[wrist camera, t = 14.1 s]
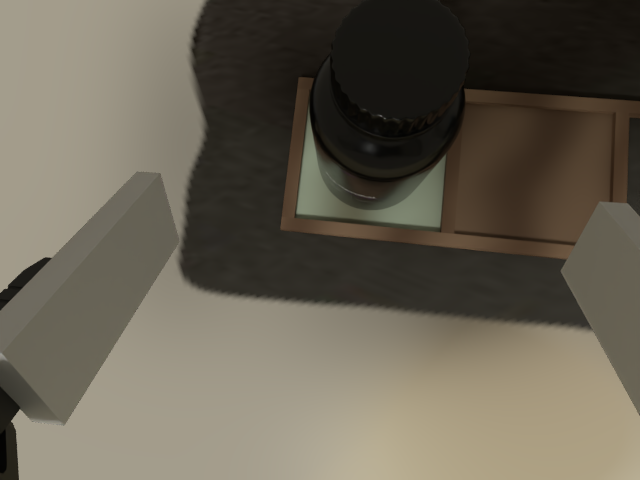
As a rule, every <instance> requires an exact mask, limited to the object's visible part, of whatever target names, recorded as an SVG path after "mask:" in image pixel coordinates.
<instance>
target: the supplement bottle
mask: <svg viewBox="0 0 640 480" xmlns="http://www.w3.org/2000/svg"><path fill="white" fill-rule="evenodd" d="M468 44H469V40H468V39H467V37H466V36H465V29H464V27H463V26H461V25H460V23H459V19H458V17H457V16H455V15H453V14H452V12H451V10H450V8H448V7H446V6H444V5H442V3H441V2H440V1H439V0H363V1H362V2H361V3H360V4H359V5H358V6H357V7H354V8H352V9H351V11H350V13H349V15H347V16H346V17H344V18H343V20H342V24H341V25H340V26H339V27H338V28H337V30H336V36H335V38H334V40H333V41H332V45H331V47H332V52H331V53H330V54H329V55H328V56H327V57H326V59H325V60H324V61H323V63H322V64H321V66H320V67H319V69H318V71H317V73H316V75H315V78H314V80H313V83H312V87H311V92H310V99H309V114H310V122H311V128H312V133H313V139H314V145H315V150H316V156H317V162H318V166H319V170H320V174H321V177H322V179H323V181H324V183H325V185H326V186H327V188H328V189H329V190H330V192H331V193H332V194H333V195H334V196H335V197H336V198H338V199H339V200H340V201H342V202H343V203H345V204H347V205H349V206H351V207H354V208H357V209H362V210H382V209H386V208H389V207H392V206H394V205H396V204H398V203H400V202H402V201H403V200H404V199H406V198H407V197H408V196H409V195H410V194H411V193H412V192H413V191H414V190H415V189H416V188H417V187H418V186H419V185H420V184H421V182H422V181H423V180H424V179H425V178H426V177H427V175H428V174H429V173H430V172H431V171H432V170H433V169H434V167H435V166H436V165H437V164H438V163H439V162H440V160H441V159H442V158H443V157H444V156H445V155H446V153H447V152H448V151H449V149H450V148H451V147H452V145H453V143H454V142H455V140H456V138H457V136H458V134H459V132H460V130H461V127H462V124H463V120H464V115H465V105H466V100H465V90H464V85H463V84H464V82H465V77H466V76H465V75H466V73H467V71H468V70H469V63H468V60H469V57H470V51H469V49H468Z"/></svg>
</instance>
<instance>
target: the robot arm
mask: <svg viewBox="0 0 640 480" xmlns="http://www.w3.org/2000/svg"><path fill="white" fill-rule="evenodd" d="M178 243H179V238H178V234H177V231H176V227H175V223H174V220H173V216H172V213H171V209H170V206H169V202H168V199H167V195H166V192H165V188H164V185H163V181H162V178H161V174H160V173H149V172H136V173H135V174H134V175H133V176H132V177H131V178H130V179H129V180H128V181H127V182H126V184H124V185H123V186H122V187H121V188H120V189H119V190H118V191H117V193H116V194H115V195H114V196H113V197H112V198H111V199H110V200H109V201H108V202H107V203H106V204H105V205H104V206H103V207H102V208H101V209H100V210H99V211H98V212H97V213H96V214H95V215H94V216H93V217H92V218H91V219H90V220H89V221H88V222H87V223H86V224H85V225H84V226H83V227H82V228H81V229H80V230H79V231H78V232H77V233H76V234H75V235H74V236H73V237H72V238H71V239H70V240H69V241H68V243H66V244H65V245H64V246H63V247H62V248H61V249H60V250H59V252H58V253H57V254H56V255H55V256H54V257H53V258H43V259H42V260H40V261H38V262H37V263H35V264H33V265H32V266H30V267H28V268H27V269H25V270H24V271H23V272H22V273H21V274H20V275H18V276H17V278H15V279H14V280H13V281H12V282H11V283H10V284H9V285H8V289H4V290H3V291H2V292H1V293H0V480H19V475H18V458H17V442H16V430H15V428H14V425H13V423H12V422H11V420H12V419H13V417H14V416H15V415H16V413H17V412H18V411H19V409H21V410H22V411H23V412H24V413H25V414H26V416H28V418H29V419H30V420H31V421H32V422H38V423H47V424H56V425H65V424H66V422H67V420H68V419H69V417H70V416H71V414H72V412H73V411H74V409H75V408H76V406H77V404H78V403H79V401H80V400H81V398H82V396H83V395H84V393H85V392H86V390H87V388H88V387H89V385H90V384H91V382H92V380H93V379H94V377H95V376H96V374H97V372H98V371H99V369H100V368H101V366H102V364H103V363H104V361H105V360H106V358H107V357H108V355H109V353H110V352H111V350H112V348H113V347H114V345H115V344H116V342H117V340H118V339H119V337H120V336H121V334H122V333H123V331H124V329H125V328H126V326H127V325H128V323H129V321H130V320H131V318H132V317H133V315H134V313H135V312H136V310H137V309H138V307H139V305H140V304H141V302H142V300H143V299H144V297H145V296H146V294H147V292H148V291H149V289H150V288H151V286H152V285H153V283H154V281H155V280H156V278H157V276H158V275H159V273H160V272H161V270H162V269H163V267H164V265H165V264H166V262H167V261H168V259H169V257H170V256H171V254H172V253H173V251H174V249H175V248H176V246H177V245H178ZM561 273H562V275H563V277H564V278H565V280H566V282H567V284H568V286H569V287H570V289H571V291H572V293H573V295H574V297H575V298H576V300H577V302H578V304H579V306H580V308H581V309H582V311H583V313H584V315H585V317H586V318H587V320H588V322H589V324H590V326H591V328H592V329H593V331H594V333H595V335H596V337H597V339H598V340H599V342H600V344H601V346H602V348H603V349H604V351H605V353H606V355H607V357H608V358H609V360H610V362H611V364H612V366H613V368H614V369H615V371H616V373H617V375H618V377H619V379H620V380H621V382H622V384H623V386H624V388H625V390H626V391H627V393H628V395H629V397H630V399H631V401H632V402H633V404H634V406H635V408H636V409H637V411H638V413H639V415H640V216H639V215H638V214H637V213H636V212H635V211H634V210H633V209H632V208H631V207H630V206H629V205H628V203H614V202H599V203H598V205H597V207H596V208H595V210H594V212H593V214H592V216H591V217H590V219H589V221H588V223H587V225H586V226H585V228H584V230H583V232H582V234H581V235H580V237H579V239H578V241H577V243H576V244H575V246H574V248H573V250H572V252H571V253H570V255H569V257H568V259H567V261H566V262H565V264H564V266H563V268H562V270H561Z"/></svg>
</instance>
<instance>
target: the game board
mask: <svg viewBox="0 0 640 480" xmlns="http://www.w3.org/2000/svg"><path fill="white" fill-rule="evenodd" d="M313 80H314V78H305V77H299V80H298V88H297V96H296V104H295V113H294V121H293V129H292V137H291V146H290V154H289V162H288V170H287V178H286V187H285V195H284V203H283V211H282V220H281V228H280V229H281V230H283V231H293V232H303V233H313V234H322V235H332V236H342V237H352V238H362V239H371V240H381V241H391V242H401V243H411V244H420V245H430V246H440V247H450V248H460V249H469V250H479V251H489V252H499V253H509V254H518V255H528V256H538V257H548V258H558V259H568V257H569V255H570V253H571V252H572V250H573V248H574V246H575V244H576V243H577V241H578V239H579V237H580V235H581V234H582V232H583V230H584V228H585V226H586V225H587V223H588V221H589V219H590V217H591V216H592V214H593V212H594V210H595V208H596V207H597V205H598V203H599V202H614V203H627V177H628V145H629V118H640V101H629V100H614V99H600V98H586V97H572V96H558V95H544V94H530V93H516V92H502V91H488V90H474V89H464V90H465V100H466V105H465V115H464V120H463V124H462V127H461V130H460V132H459V134H458V136H457V138H456V140H455V142H454V143H453V145H452V147H451V148H450V149H449V151H448V152H447V153H446V155H445V156H444V157H443V158H442V159H441V160H440V162H439V163H438V164H437V165H436V166H435V167H434V169H433V170H432V171H431V172H430V173H429V174H428V175H427V177H426V178H425V179H424V180H423V181H422V182H421V184H420V185H419V186H418V187H417V188H416V189H415V190H414V191H413V192H412V193H411V194H410V195H409V196H408V197H407V198H406V199H404V200H403V201H402V202H400V203H398V204H396V205H394V206H392V207H389V208H386V209H382V210H362V209H357V208H354V207H351V206H349V205H347V204H345V203H343V202H342V201H340V200H339V199H338V198H336V197H335V196H334V195H333V194H332V193H331V192H330V190H329V189H328V188H327V186H326V185H325V183H324V181H323V179H322V177H321V174H320V170H319V166H318V162H317V156H316V150H315V145H314V139H313V133H312V128H311V122H310V114H309V99H310V92H311V87H312V83H313Z"/></svg>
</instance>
